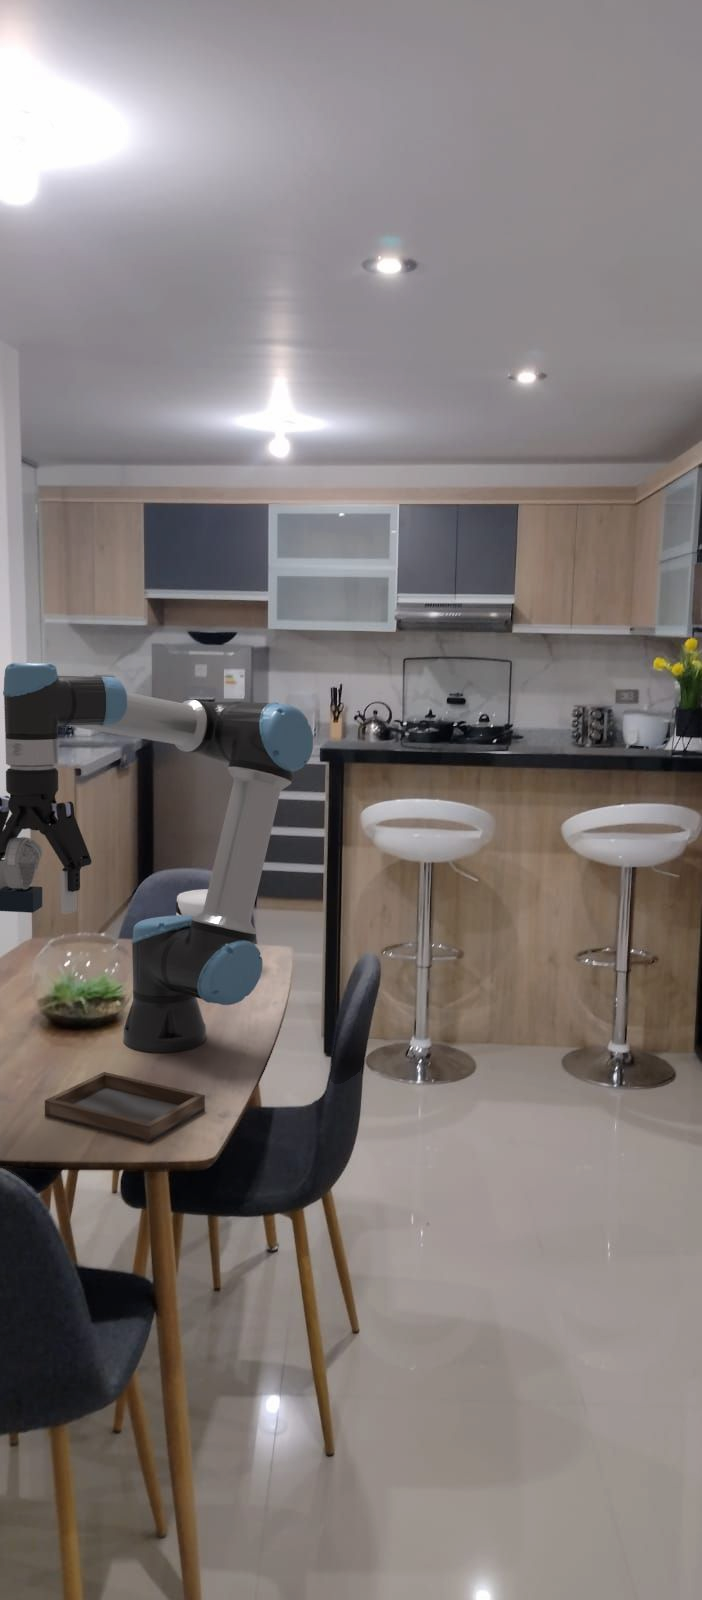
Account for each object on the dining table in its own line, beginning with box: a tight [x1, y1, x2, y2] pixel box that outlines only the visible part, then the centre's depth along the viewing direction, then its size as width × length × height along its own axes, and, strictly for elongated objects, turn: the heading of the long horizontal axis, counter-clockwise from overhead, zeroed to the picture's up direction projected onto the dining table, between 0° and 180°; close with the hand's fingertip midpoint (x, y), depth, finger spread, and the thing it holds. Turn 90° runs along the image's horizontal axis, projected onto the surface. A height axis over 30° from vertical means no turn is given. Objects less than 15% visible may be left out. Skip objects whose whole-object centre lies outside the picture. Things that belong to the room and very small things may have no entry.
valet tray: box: [44, 1071, 206, 1144], centre depth 175 cm, size 14×20×3 cm
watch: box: [0, 836, 43, 913], centre depth 172 cm, size 6×8×11 cm
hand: (34, 907), depth 170 cm, fingers open, 13 cm apart
